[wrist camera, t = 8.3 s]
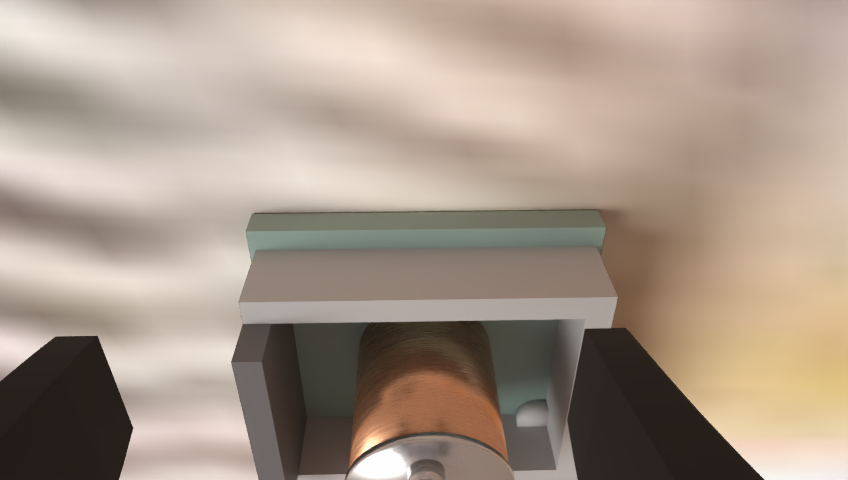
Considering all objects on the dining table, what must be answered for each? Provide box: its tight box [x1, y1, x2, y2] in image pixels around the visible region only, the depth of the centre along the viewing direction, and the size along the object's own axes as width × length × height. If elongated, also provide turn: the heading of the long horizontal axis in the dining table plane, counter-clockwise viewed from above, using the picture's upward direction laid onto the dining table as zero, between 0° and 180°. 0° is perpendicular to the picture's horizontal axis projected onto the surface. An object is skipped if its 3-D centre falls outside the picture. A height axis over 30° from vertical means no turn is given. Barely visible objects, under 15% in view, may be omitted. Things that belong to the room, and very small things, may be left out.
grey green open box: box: [231, 210, 618, 480], centre depth 21 cm, size 10×11×5 cm
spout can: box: [345, 321, 515, 480], centre depth 20 cm, size 5×5×6 cm
